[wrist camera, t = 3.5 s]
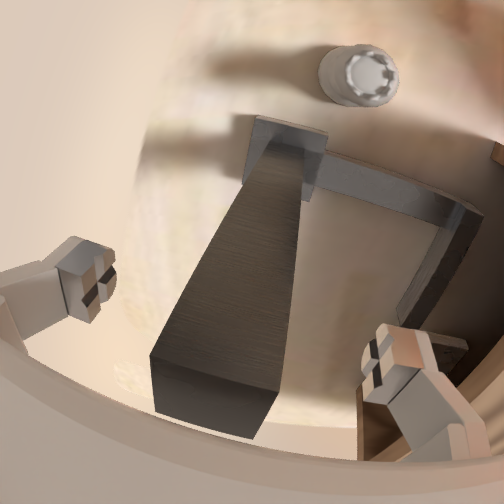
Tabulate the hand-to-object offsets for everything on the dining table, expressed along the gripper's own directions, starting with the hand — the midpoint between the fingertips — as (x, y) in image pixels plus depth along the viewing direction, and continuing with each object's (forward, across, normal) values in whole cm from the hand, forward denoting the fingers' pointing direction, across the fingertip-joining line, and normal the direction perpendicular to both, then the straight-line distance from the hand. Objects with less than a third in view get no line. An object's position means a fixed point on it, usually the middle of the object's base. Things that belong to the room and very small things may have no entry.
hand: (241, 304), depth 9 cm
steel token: (+17, -22, +16) cm, 32 cm away
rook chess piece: (+16, -3, -7) cm, 18 cm away
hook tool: (+16, -7, +4) cm, 18 cm away
